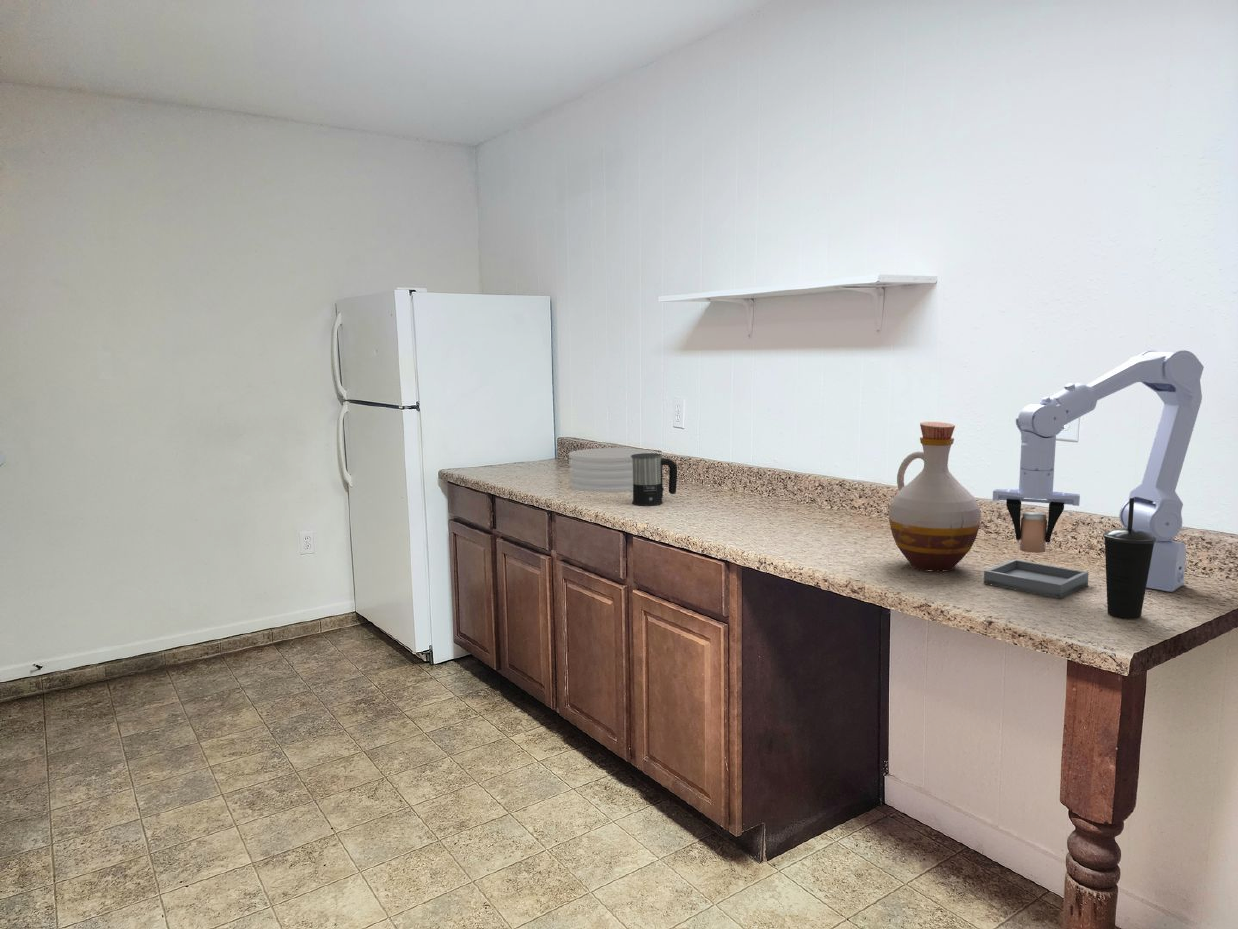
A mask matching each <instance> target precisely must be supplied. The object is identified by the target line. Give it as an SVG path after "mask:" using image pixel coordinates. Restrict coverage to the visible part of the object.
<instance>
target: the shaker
mask: <svg viewBox="0 0 1238 929" xmlns="http://www.w3.org/2000/svg"><path fill="white" fill-rule="evenodd" d="M1047 526H1048V518H1047V514H1046V513H1044V512H1036V511H1025V512H1024V511H1023V512H1022V517H1020V528H1021V531H1020V540H1019V551H1022V552H1025V553H1026V552H1027V553H1034V554H1043V553H1045V552H1046V550H1047V549H1046V548H1047V547H1046V546H1047V542H1046V533H1047Z"/></svg>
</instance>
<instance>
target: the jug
mask: <svg viewBox="0 0 1238 929" xmlns="http://www.w3.org/2000/svg"><path fill="white" fill-rule="evenodd" d="M919 426H920V431H921V434H922V436H921V437H919V441H920V444H921V445H922V451H919V450H918V451H913V452H911V453H910V454H908V455H906V457H905V458H904V459H903V460H902V462H901V464H899V468H898V470H897V474H896V475H897V476H896V485H897V489H898V491H897V493H896V494H895V495H894V497H893V499H892V500H891V502H890V504H889V508H888V521H889V525H890V526H889V528H890V530H891V534H892V537H893V541H894V543H895V544H896V547H897V548H898V549H899V551H900V552H901V554H902V555H903V557H905V559H906V560H907V562H908V563H909V564H910V566H911V567H913V568H915V569H917V568H918V569H917V570H920V569H921V571H926V570H932V571H931V572H944V571H943V570H948V571H951V570H953V569H954V568H955V567H956V566H957V565H958V564H959V563H960V562H961V561H962V560H963V559H964V558H965V556H966V555H968V552H970V551H971V549H972V547H973V545H974V543H975V541H976V539H977V537H978V533H979V529H980V527H981V519H982V517H981V516H982V513H981V509H980V508H981V507H980V505H979V503H978V501H977V500H976V498H975V497H974V495H972V494H971V492H970V491H968V489H966V488H965V487H964V486H963V485H962V484H961V483H960V482H959V480H957V478H956V477H955V476H954V475H953V474H952V473H951V472H950V470H949V455H950V452H951V447H952V446H953V444H954V440H955V437H952V436H953V433H954V431H955V428H956V425H955V424H953V423H948V422H947V423H946V422H942V421H941V422H940V421H923V422H922V421H921V422H919ZM916 459H921V460H922V461H923V463H924V464H923V468H922V470H921V471H920V472H919V473H918V474H917V475H916V476H915V477H914V478H913V479H912V480H911V481H910V482H908V483H907V484H906V485H905V483H904V482H905V481H904V480H905V474H906V470H907V469H908V467H909V466H910V464H911V463H912V462H913V461H914V460H916Z"/></svg>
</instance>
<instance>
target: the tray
mask: <svg viewBox="0 0 1238 929" xmlns="http://www.w3.org/2000/svg"><path fill="white" fill-rule="evenodd" d="M984 583H987V584H986V585H989V584H992V585H991V586H994V585H996V586H995V587H999V588H1000V587H1001V588H1005V589H1010V590H1014V589H1016V590H1015V591H1019V590H1020V591H1021V592H1024V593H1030V594H1035V595H1040V596H1045V597H1050V598H1055V599H1062V598H1065V597H1066V596H1068V595H1071V594H1073V593H1075V592H1076V591H1078V590H1080V589H1084V587H1087V586H1088V585H1089V571H1083V570H1078V569H1074V568H1073V569H1072V568H1066V567H1061V566H1056V565H1051V564H1045V563H1044V564H1043V563H1039V562H1032V561H1027V560H1021V559H1015V558H1014V559H1010V560H1008V561H1006V562H1003V563H1001V564H998V565H995V566H994V567H991V568H987V569H986V570H983V584H984Z"/></svg>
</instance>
